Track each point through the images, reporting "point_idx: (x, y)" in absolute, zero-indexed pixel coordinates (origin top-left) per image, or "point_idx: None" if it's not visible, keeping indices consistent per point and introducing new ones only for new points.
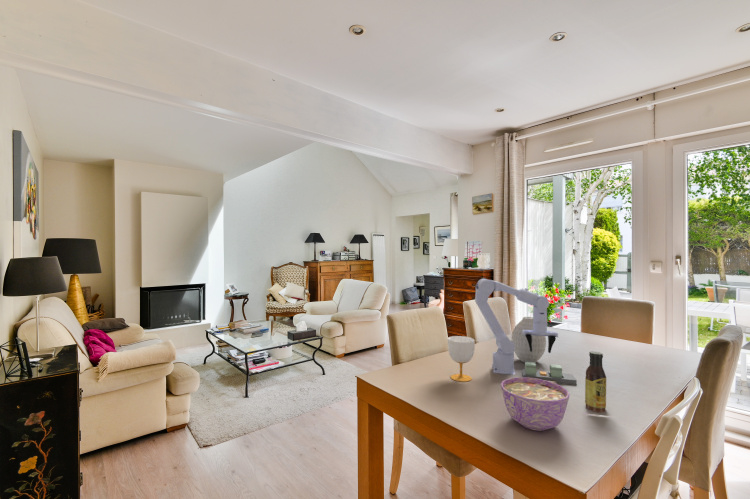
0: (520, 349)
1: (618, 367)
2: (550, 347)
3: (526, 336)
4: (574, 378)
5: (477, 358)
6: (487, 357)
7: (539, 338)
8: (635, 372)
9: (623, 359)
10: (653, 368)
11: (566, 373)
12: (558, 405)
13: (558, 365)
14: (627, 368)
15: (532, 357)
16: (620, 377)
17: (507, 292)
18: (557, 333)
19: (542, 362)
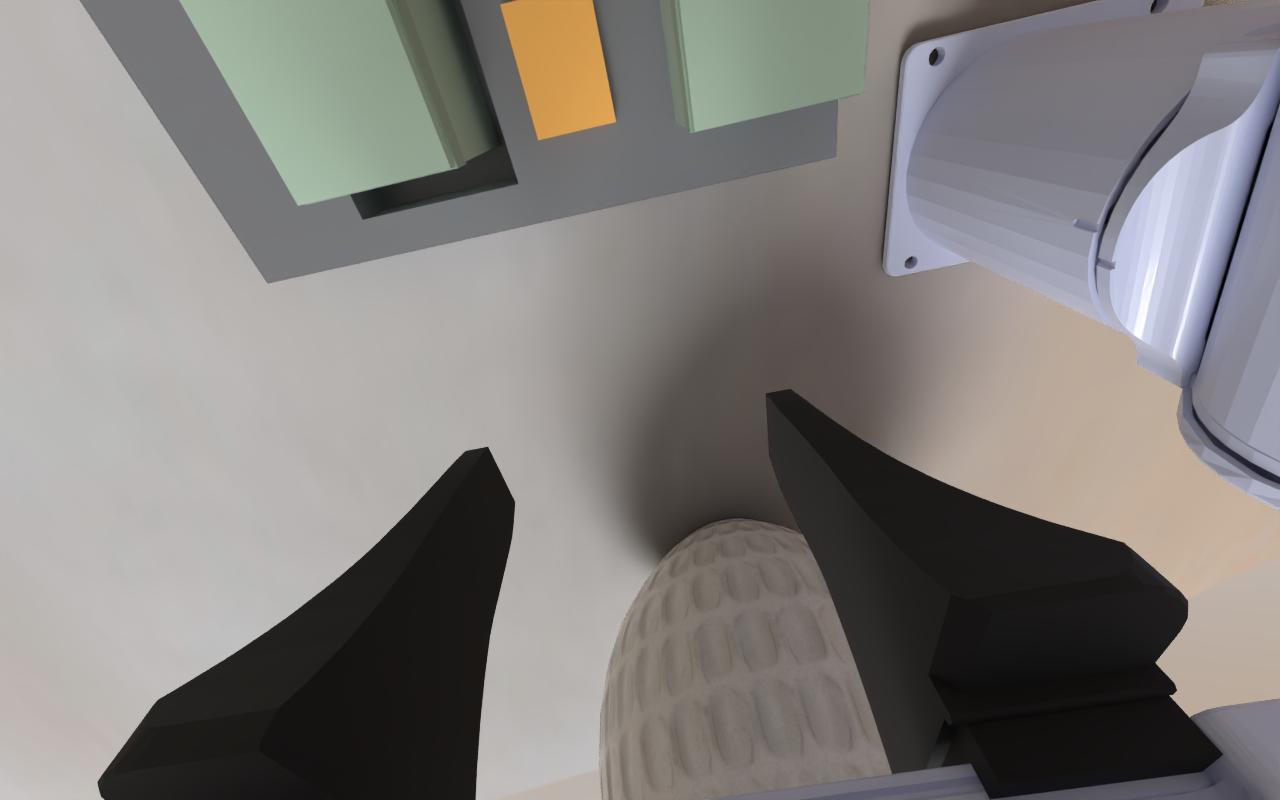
0: None
1: (188, 672)
2: (422, 514)
3: (1153, 641)
4: (145, 82)
5: (1151, 454)
6: (1045, 510)
7: (668, 785)
8: (57, 640)
9: None
10: (40, 723)
11: (323, 269)
12: None
13: (310, 171)
14: (139, 677)
15: (711, 543)
16: (49, 518)
17: None
18: None
19: (630, 575)
